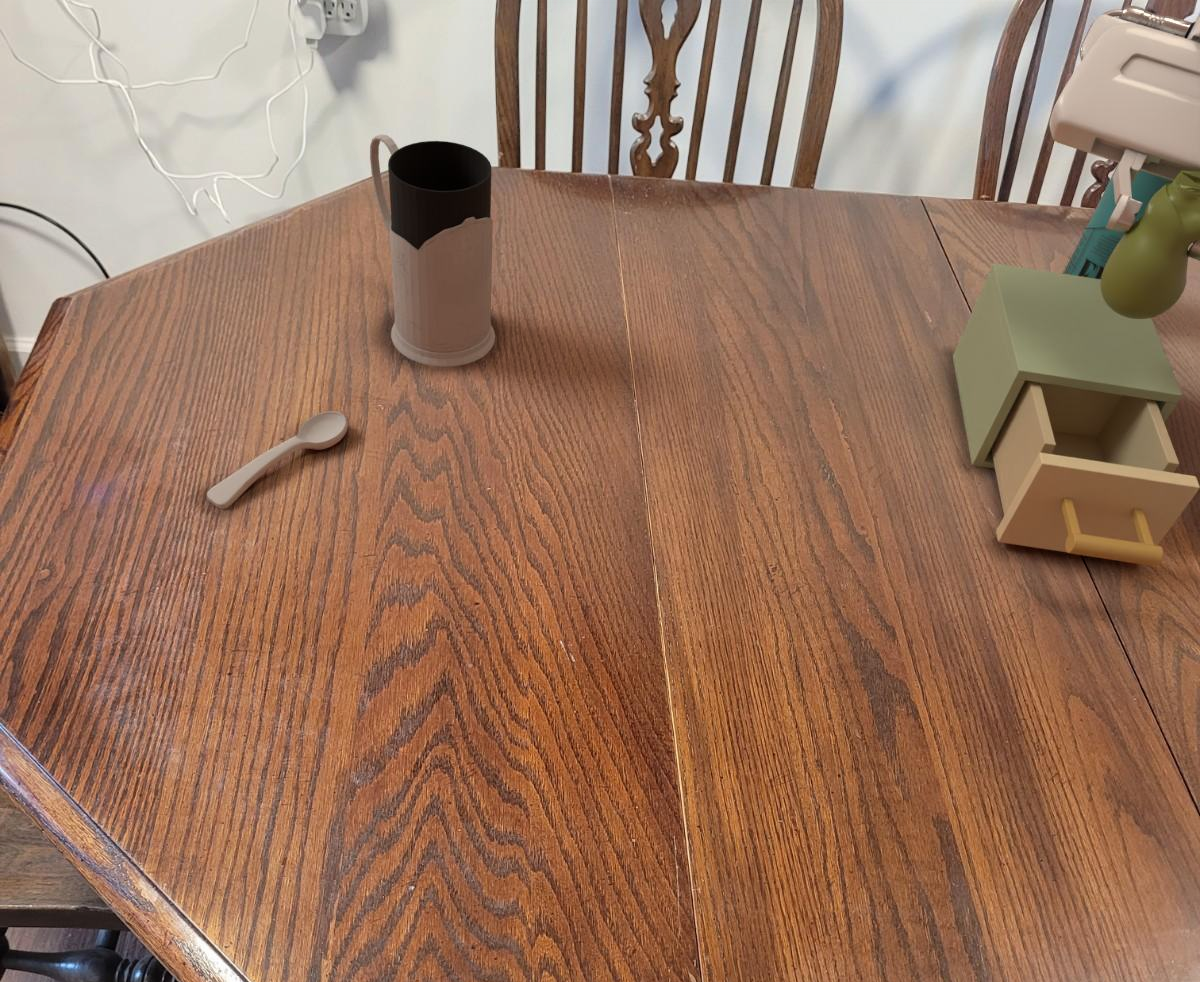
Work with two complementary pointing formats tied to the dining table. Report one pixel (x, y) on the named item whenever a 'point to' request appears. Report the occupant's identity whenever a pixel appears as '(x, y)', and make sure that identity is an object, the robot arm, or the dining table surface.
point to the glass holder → (438, 249)
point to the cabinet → (1051, 349)
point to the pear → (1155, 252)
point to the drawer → (1088, 474)
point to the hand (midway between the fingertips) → (1158, 243)
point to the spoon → (280, 455)
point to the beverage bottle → (1103, 241)
